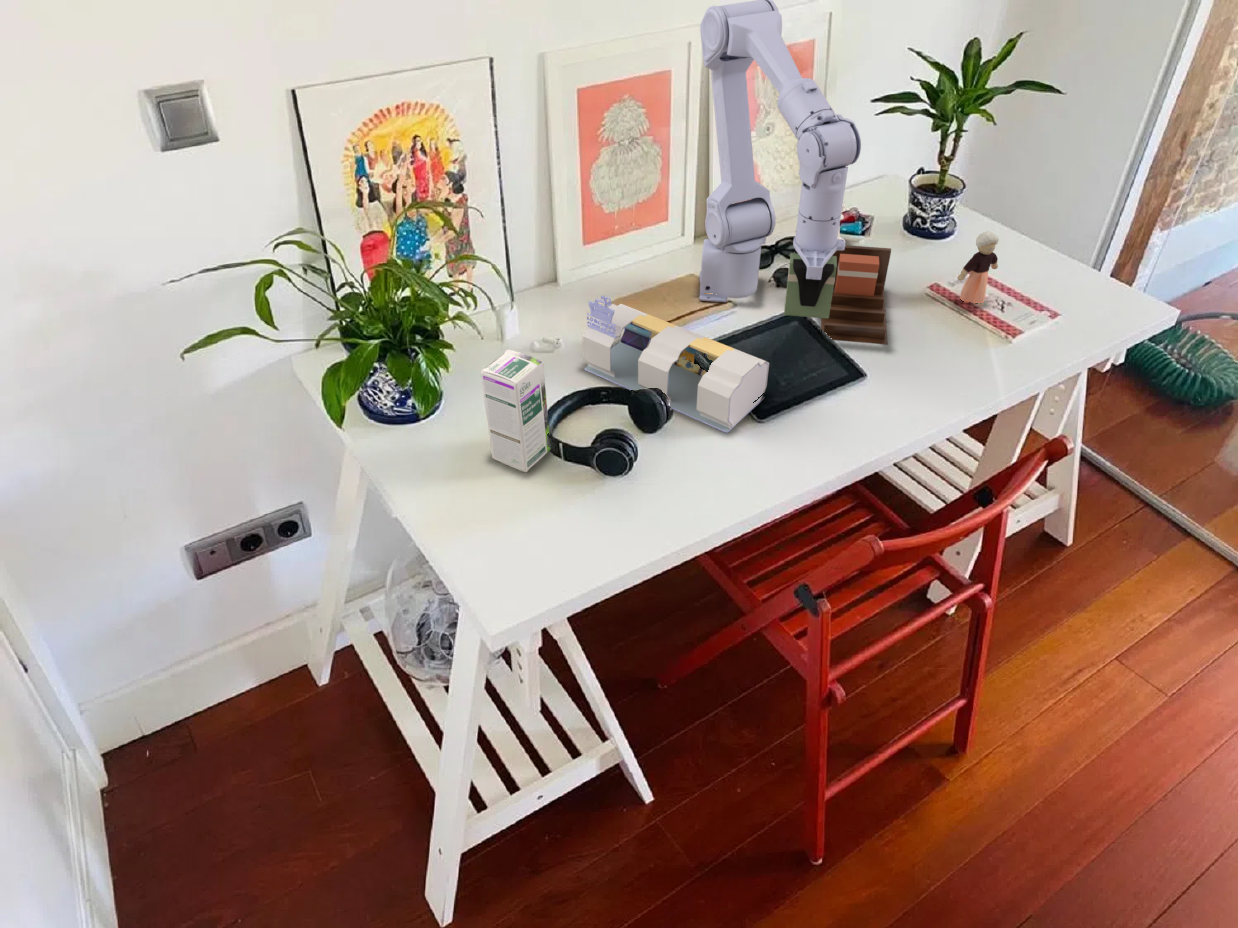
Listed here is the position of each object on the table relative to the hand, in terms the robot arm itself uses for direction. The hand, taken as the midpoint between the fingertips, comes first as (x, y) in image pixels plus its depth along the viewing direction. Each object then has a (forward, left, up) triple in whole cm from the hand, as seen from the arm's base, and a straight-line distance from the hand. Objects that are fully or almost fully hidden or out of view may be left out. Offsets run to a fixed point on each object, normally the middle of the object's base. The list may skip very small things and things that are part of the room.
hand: (808, 298), depth 144 cm
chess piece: (+5, +34, -10) cm, 36 cm away
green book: (0, 0, -2) cm, 2 cm away
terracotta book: (+8, +16, -9) cm, 20 cm away
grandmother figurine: (+27, +18, -10) cm, 34 cm away
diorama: (-18, -11, -10) cm, 23 cm away
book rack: (+8, +11, -10) cm, 17 cm away
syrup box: (-36, -30, -10) cm, 48 cm away
